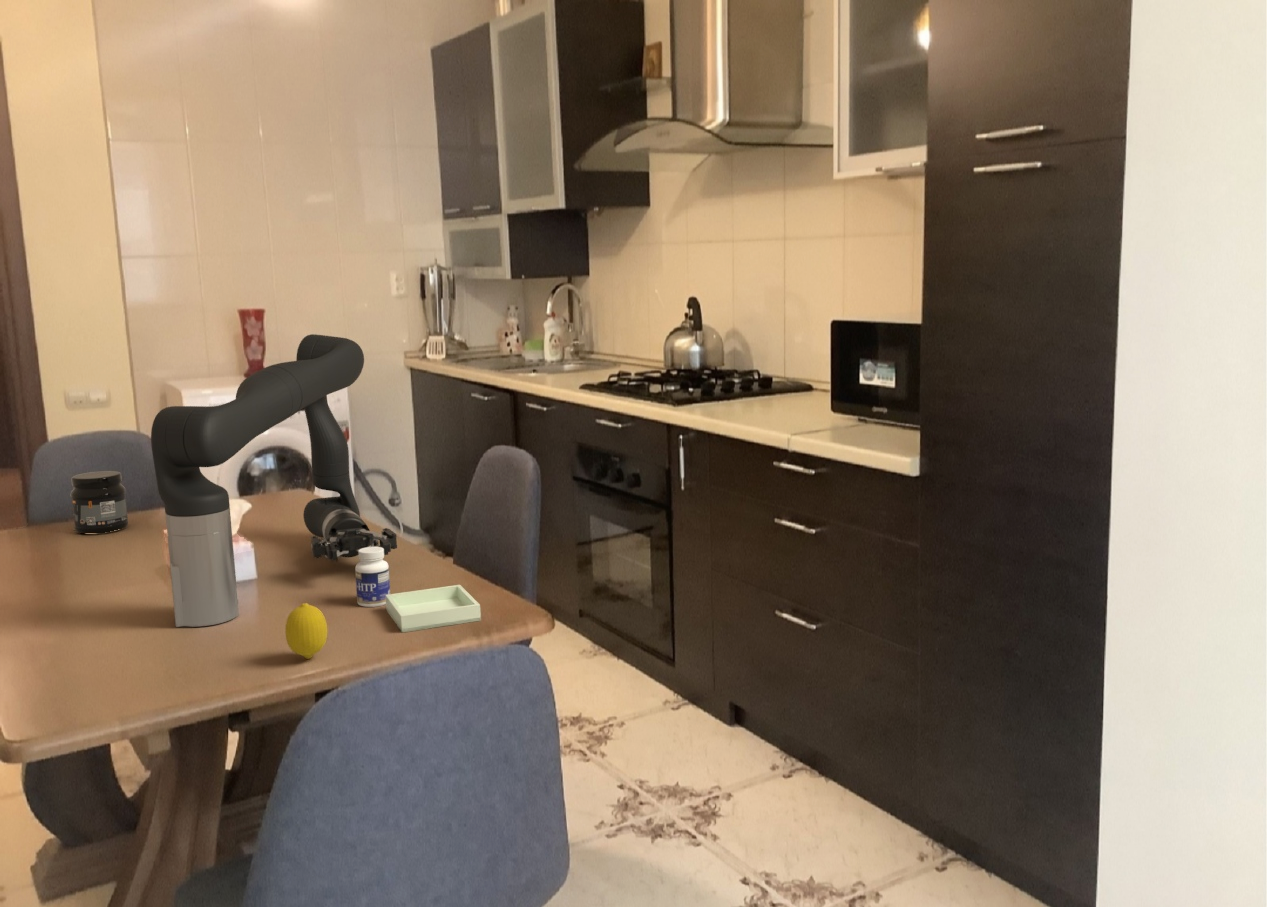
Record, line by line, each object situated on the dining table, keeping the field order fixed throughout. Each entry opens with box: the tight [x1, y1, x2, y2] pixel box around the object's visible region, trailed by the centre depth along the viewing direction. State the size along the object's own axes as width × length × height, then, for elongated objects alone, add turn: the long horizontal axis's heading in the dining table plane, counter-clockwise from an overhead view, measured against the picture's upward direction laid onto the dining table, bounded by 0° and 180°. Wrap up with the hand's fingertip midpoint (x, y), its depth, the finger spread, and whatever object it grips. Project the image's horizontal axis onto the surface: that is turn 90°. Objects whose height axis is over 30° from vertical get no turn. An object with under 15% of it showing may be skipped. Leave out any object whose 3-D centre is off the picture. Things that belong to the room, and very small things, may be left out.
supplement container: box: [69, 470, 129, 534], centre depth 226 cm, size 10×10×12 cm
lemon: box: [284, 602, 328, 660], centre depth 146 cm, size 6×6×8 cm
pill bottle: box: [354, 546, 391, 608], centre depth 171 cm, size 5×5×9 cm
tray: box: [385, 584, 482, 633], centre depth 165 cm, size 12×12×2 cm
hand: (360, 552), depth 180 cm, fingers open, 8 cm apart
